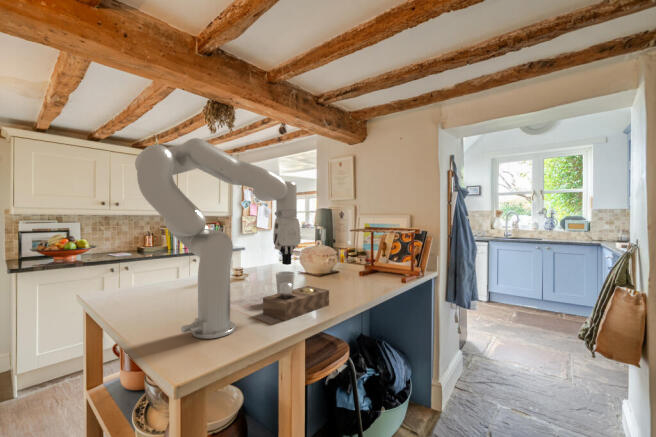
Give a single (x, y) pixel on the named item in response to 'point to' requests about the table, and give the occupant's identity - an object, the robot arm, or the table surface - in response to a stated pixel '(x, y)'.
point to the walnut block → (295, 303)
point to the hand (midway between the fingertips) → (286, 264)
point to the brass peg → (308, 290)
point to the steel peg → (286, 290)
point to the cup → (284, 278)
